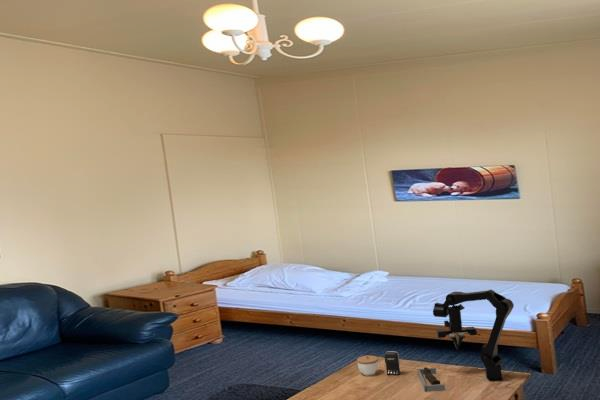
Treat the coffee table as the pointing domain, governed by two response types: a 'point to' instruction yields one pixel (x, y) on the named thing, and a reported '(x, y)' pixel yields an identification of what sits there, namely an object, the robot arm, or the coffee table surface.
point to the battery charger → (392, 363)
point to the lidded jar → (368, 365)
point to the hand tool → (430, 377)
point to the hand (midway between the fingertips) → (457, 349)
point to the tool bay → (430, 387)
